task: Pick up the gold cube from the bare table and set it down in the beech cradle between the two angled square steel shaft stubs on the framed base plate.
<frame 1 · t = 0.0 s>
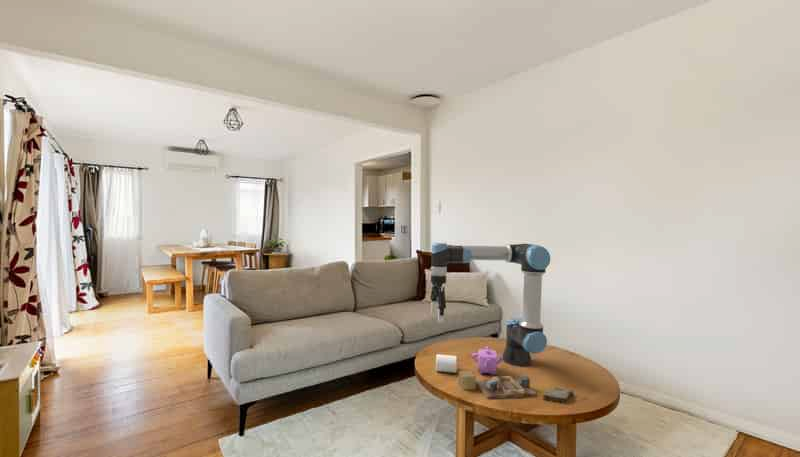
hand: (437, 318, 178), 28 cm above the table, fingers open, 13 cm apart
teapot: (486, 371, 185), on the table
framed base plate: (504, 389, 165), on the table
stone: (558, 398, 159), on the table
mug: (446, 370, 185), on the table
gold cube: (466, 386, 167), on the table
shafts: (507, 383, 164), in the framed base plate, point 3 cm above the table
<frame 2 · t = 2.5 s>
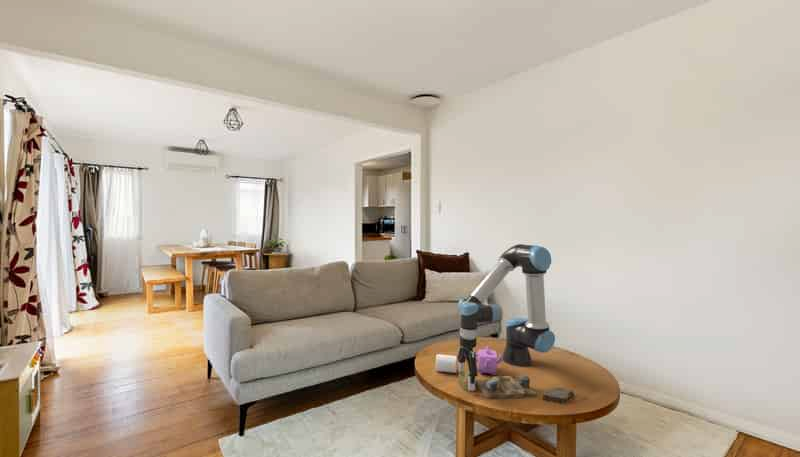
hand: (466, 383, 167), 2 cm above the table, fingers open, 13 cm apart
nothing on the table moved.
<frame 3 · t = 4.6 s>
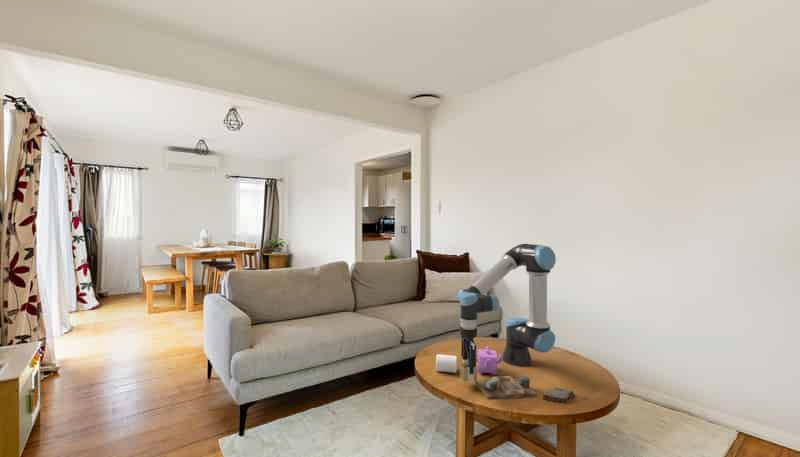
hand: (468, 376, 167), 4 cm above the table, fingers closed on gold cube, 6 cm apart
gold cube: (468, 377, 167), point 4 cm above the table, touching gripper
everything else where it was.
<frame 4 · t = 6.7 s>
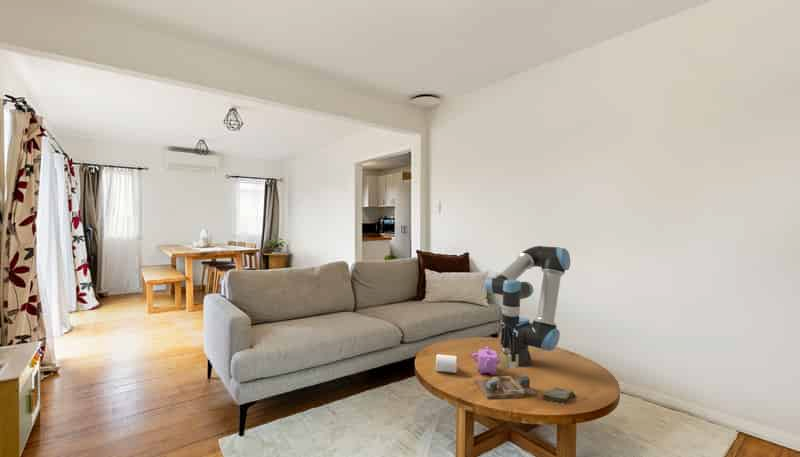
hand: (508, 365, 165), 11 cm above the table, fingers closed on gold cube, 6 cm apart
gold cube: (508, 365, 165), point 11 cm above the table, touching gripper
everything else where it was.
when the fingers open (2 cm above the table, at t = 8.9 s): gold cube stays where it is, resting on framed base plate.
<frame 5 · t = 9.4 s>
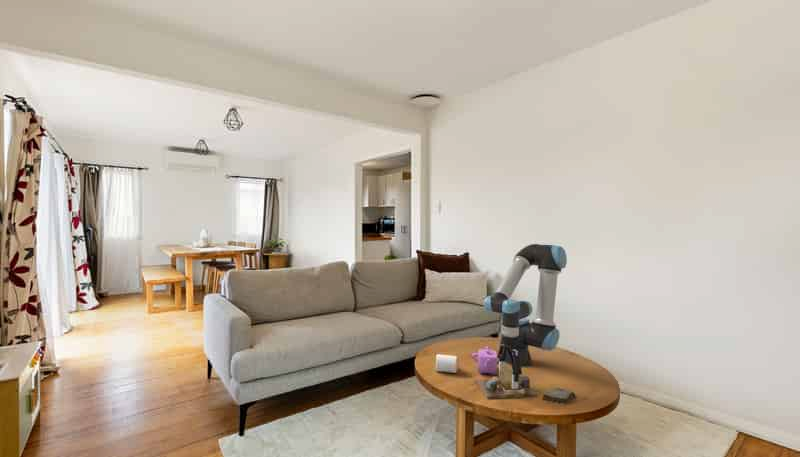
hand: (508, 381, 165), 4 cm above the table, fingers open, 12 cm apart
gold cube: (507, 386, 166), point 1 cm above the table, touching framed base plate
everything else where it was.
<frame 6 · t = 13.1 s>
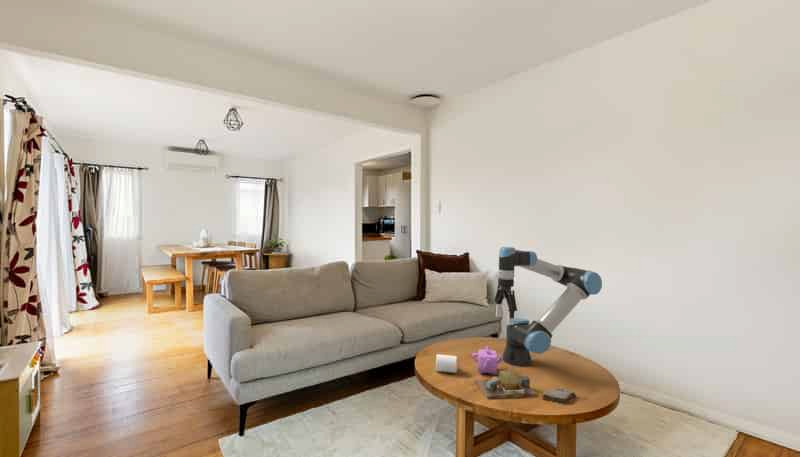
hand: (504, 320, 182), 27 cm above the table, fingers open, 13 cm apart
nothing on the table moved.
at the end: gold cube inside the target area on the framed base plate (0.0 cm from its centre), point 1.2 cm above the framed base plate's base; gold cube tilted 0°; the gripper is holding nothing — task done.
